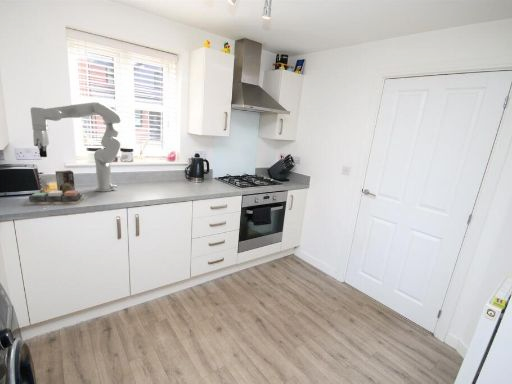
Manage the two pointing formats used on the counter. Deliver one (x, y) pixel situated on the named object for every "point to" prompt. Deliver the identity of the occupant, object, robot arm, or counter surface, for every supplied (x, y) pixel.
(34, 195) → the sage button
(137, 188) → the counter surface
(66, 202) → the button panel
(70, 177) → the coffee box
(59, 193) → the cream button
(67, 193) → the terracotta button
